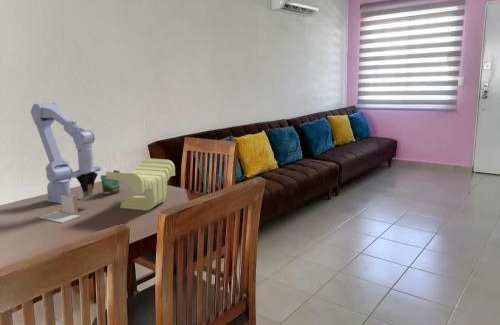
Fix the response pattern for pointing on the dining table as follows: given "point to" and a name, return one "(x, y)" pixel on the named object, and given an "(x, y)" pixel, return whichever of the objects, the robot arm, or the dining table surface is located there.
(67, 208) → the tile
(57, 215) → the mat
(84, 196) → the turner
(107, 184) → the food container
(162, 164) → the slatted curved stool
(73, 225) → the dining table surface
